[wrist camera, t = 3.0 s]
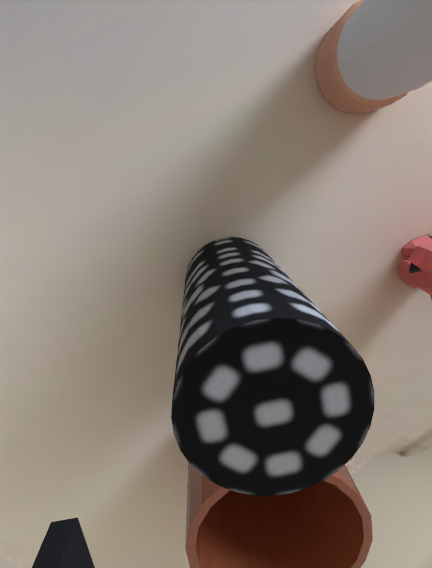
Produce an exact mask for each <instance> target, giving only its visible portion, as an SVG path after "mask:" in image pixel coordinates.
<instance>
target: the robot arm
mask: <svg viewBox="0 0 432 568" xmlns="http://www.w3.org/2000/svg"><path fill="white" fill-rule="evenodd" d="M32 568H95V567H94V564H93V562H92V559H91V556H90V553H89V550H88V547H87V544H86V541H85V538H84V535H83V532H82V529H81V526H80V523H79V520H78V518H73V519H67V520H61V521H56V522H51V524H50V526H49V529H48V531H47V533H46V536H45V538H44V540H43V543H42V545H41V547H40V550H39V552H38V554H37V557H36V559H35V562H34V564H33V566H32Z"/></svg>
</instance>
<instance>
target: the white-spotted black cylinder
mask: <svg viewBox="0 0 432 568" xmlns="http://www.w3.org/2000/svg"><path fill="white" fill-rule="evenodd" d="M373 412H374V389H373V384H372V380H371V375H370V373H369V371H368V369H367V367H366V365H365V363H364V361H363V359H362V358H361V356H360V355H359V354H358V353H357V351H356V350H355V349H354V348H353V346H352V345H351V344H350V343H349V342H348V341H347V340H346V339H345V337H344V336H343V335H342V334H341V333H340V332H339V331H338V330H337V329H336V328H335V327H334V326H333V325H332V323H331V322H330V321H329V320H328V319H327V318H326V317H325V316H324V315H323V314H322V313H321V312H320V311H319V309H318V308H317V307H316V306H315V305H314V304H313V303H312V302H311V301H310V300H309V299H308V298H307V296H306V295H305V294H304V293H303V292H302V291H301V290H300V289H299V288H298V287H297V286H296V285H295V284H294V282H293V281H292V280H291V279H290V278H289V277H288V276H287V275H286V274H285V273H284V272H283V271H282V269H281V268H280V267H279V266H278V265H277V264H276V263H275V262H274V261H273V260H272V259H271V258H270V257H269V255H268V254H267V253H266V252H265V251H264V250H263V249H262V248H260V247H259V246H258V245H257V244H255V243H253V242H251V241H249V240H246V239H242V238H236V237H227V238H221V239H218V240H214V241H212V242H210V243H208V244H207V245H205V246H204V247H203V248H201V249H200V250H199V251H198V252H197V253H196V254H195V256H194V257H193V258H192V260H191V262H190V264H189V266H188V269H187V273H186V280H185V289H184V298H183V307H182V317H181V326H180V335H179V344H178V353H177V363H176V372H175V381H174V390H173V400H172V415H171V418H172V424H173V431H174V435H175V438H176V440H177V443H178V445H179V448H180V450H181V452H182V453H183V454H184V456H185V457H186V459H187V460H188V462H189V463H190V464H191V465H192V466H193V467H194V468H195V469H196V470H197V471H198V472H199V473H200V474H201V475H202V476H204V477H205V478H207V479H208V480H210V481H212V482H213V483H215V484H217V485H218V486H221V487H223V488H226V489H229V490H231V491H234V492H238V493H243V494H248V495H256V496H274V495H282V494H290V493H293V492H296V491H300V490H303V489H307V488H309V487H311V486H313V485H315V484H317V483H320V482H322V481H324V480H325V479H327V478H328V477H330V476H331V475H333V474H334V473H335V472H337V471H338V470H340V469H341V468H342V467H343V466H344V465H345V464H346V463H347V462H348V461H349V460H350V459H351V458H352V457H353V456H354V454H355V453H356V451H357V450H358V449H359V447H360V446H361V444H362V443H363V441H364V439H365V437H366V434H367V432H368V430H369V428H370V425H371V421H372V416H373Z"/></svg>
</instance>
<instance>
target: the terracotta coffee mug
mask: <svg viewBox="0 0 432 568" xmlns="http://www.w3.org/2000/svg"><path fill="white" fill-rule="evenodd" d="M371 543H372V522H371V514H370V512H369V510H368V508H367V506H366V505H365V503H364V501H363V499H362V497H361V495H360V493H359V491H358V489H357V487H356V485H355V483H354V481H353V479H352V477H351V475H350V473H349V472H348V470H347V468H346V466H345V465H344V466H343V467H342V468H341V469H340V470H338V471H337V472H335V473H334V474H333V475H331V476H330V477H328V478H327V479H325V480H324V481H322V482H320V483H317V484H315V485H313V486H311V487H309V488H307V489H303V490H300V491H296V492H293V493H290V494H282V495H274V496H256V495H248V494H243V493H238V492H234V491H231V490H229V489H226V488H223V487H221V486H218V485H217V484H215V483H213V482H212V481H210V480H208V479H207V478H205V477H204V476H202V475H201V474H200V473H199V472H198V471H197V470H196V469H195V468H194V467H193V466H192V465H191V464H190V463H189V462H188V482H187V517H186V552H187V557H188V561H189V565H190V568H360V567H361V566H362V565H363V563H364V562H365V560H366V558H367V555H368V552H369V548H370V546H371Z"/></svg>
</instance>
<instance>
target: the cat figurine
mask: <svg viewBox="0 0 432 568" xmlns="http://www.w3.org/2000/svg"><path fill="white" fill-rule="evenodd" d="M402 254H403V255H405V256H408V257H409V259H408V260H407V261H405V260H403V259H402V261H401V264H400V265H399V266H398V268H397V270H396V271H397V273H398V275H399V276H400V278H401V279H402V280H403V281H404V282H405V283H407V284H408V285H409V286H411V287H412V288H416V287H418V288H420V289H422V290H423V291H425V292H427V293H428V294H430V296H431V299H432V236H430V235H428V234H427V235H425V236H422V237H419V238H417V239H414V240H412V241H410V242H409V243H408V244H406V245H405V246H404V247H403V248H402Z"/></svg>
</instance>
